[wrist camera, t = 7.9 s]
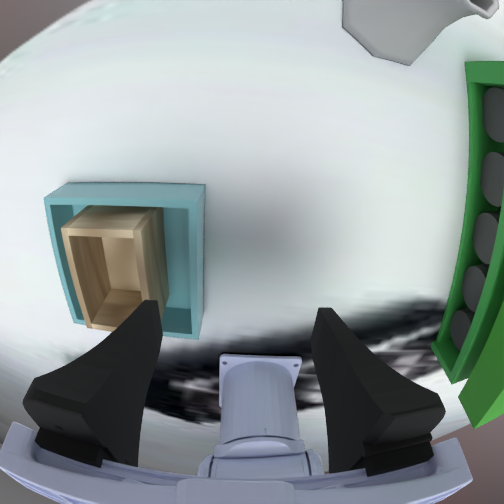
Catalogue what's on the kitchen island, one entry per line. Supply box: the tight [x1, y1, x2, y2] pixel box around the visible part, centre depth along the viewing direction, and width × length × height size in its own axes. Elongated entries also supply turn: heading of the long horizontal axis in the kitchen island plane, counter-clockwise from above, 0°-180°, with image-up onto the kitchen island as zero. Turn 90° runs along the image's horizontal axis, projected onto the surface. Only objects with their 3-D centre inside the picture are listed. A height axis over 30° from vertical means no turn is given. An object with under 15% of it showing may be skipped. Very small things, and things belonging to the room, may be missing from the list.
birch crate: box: [61, 205, 170, 332], centre depth 20 cm, size 6×8×5 cm
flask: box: [343, 0, 499, 66], centre depth 10 cm, size 7×7×10 cm
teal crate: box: [44, 182, 205, 340], centre depth 21 cm, size 11×11×4 cm
